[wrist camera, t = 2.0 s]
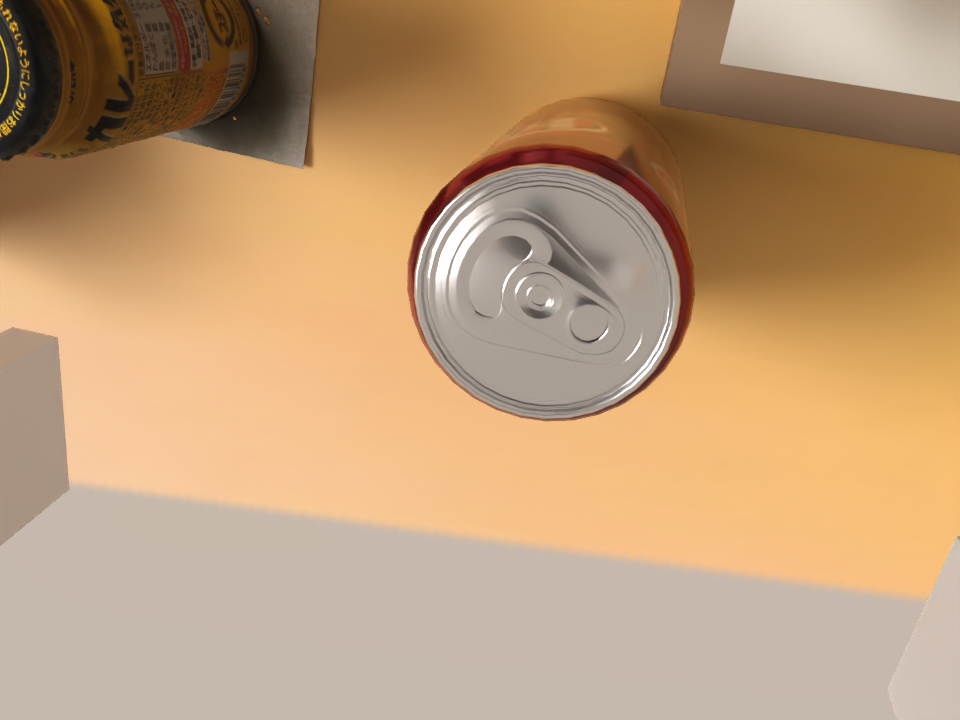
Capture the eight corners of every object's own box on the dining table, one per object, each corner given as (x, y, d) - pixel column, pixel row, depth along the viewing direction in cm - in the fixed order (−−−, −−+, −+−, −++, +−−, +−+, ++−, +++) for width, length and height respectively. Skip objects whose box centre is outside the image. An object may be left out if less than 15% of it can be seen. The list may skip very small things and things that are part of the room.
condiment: (107, -77, 31) (-191, -119, 20) (324, -34, 30) (135, -55, 19) (108, 123, 34) (-148, 179, 23) (306, 167, 33) (134, 247, 22)
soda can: (453, 223, 33) (351, 332, 22) (554, 55, 30) (494, 85, 19) (608, 324, 33) (583, 480, 22) (724, 168, 30) (761, 262, 19)
